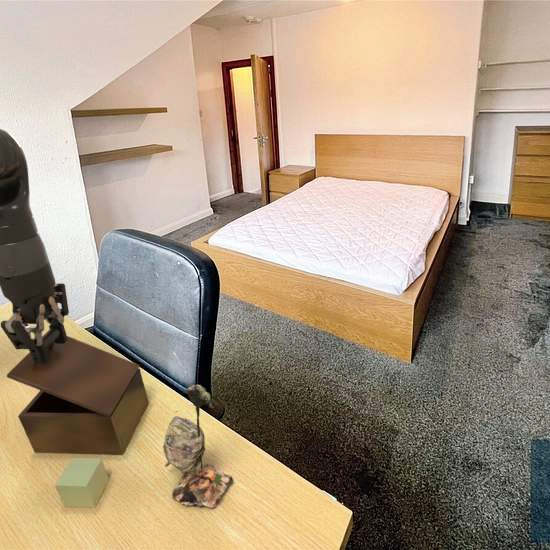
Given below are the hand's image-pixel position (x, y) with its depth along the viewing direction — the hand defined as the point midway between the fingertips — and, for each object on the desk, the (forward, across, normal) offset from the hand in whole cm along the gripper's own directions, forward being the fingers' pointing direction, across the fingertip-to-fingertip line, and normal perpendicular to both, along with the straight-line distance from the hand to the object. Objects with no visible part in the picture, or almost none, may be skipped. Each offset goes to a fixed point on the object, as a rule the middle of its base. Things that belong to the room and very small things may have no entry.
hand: (52, 351), depth 72 cm
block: (+18, +14, +9) cm, 24 cm away
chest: (+18, 0, +4) cm, 18 cm away
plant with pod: (+17, +12, +27) cm, 34 cm away
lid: (+4, 0, +4) cm, 6 cm away
